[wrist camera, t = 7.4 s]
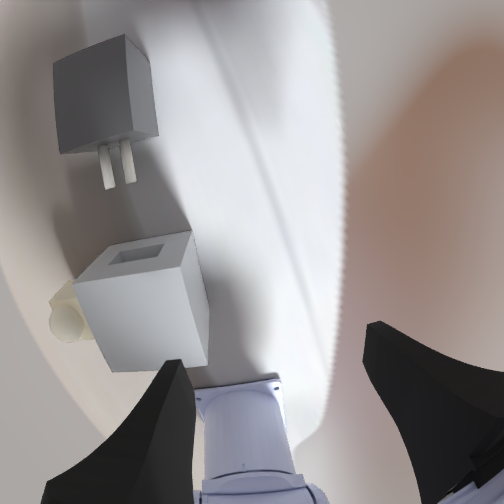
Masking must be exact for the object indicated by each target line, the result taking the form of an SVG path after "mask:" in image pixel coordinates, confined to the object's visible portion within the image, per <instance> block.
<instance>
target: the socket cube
mask: <svg viewBox="0 0 504 504" xmlns="http://www.w3.org/2000/svg"><path fill="white" fill-rule="evenodd" d="M72 286H73V289H74V292H75V294H76V297H77V299H78V302H79V304H80V307H81V309H82V311H83V314H84V316H85V318H86V321H87V323H88V325H89V327H90V329H91V332H92V334H93V336H94V338H95V340H96V342H97V344H98V346H99V348H100V350H101V352H102V354H103V356H104V358H105V360H106V362H107V364H108V366H109V368H110V369H111V371H112V372H136V371H154V370H160V368H161V367H162V365H163V364H164V362H165V361H166V360H174V359H182V362H183V365H184V367H185V368H189V367H199V366H207V365H208V343H209V318H210V308H209V304H208V299H207V295H206V291H205V287H204V282H203V278H202V273H201V269H200V264H199V260H198V255H197V250H196V245H195V241H194V236H193V231H192V230H191V231H185V232H179V233H174V234H168V235H162V236H157V237H152V238H146V239H141V240H136V241H130V242H125V243H120V244H115V245H110V246H109V247H108V248H107V249H106V250H105V251H104V252H103V253H101V254H100V255H99V256H98V257H97V258H96V259H95V260H94V261H93V262H92V263H91V264H90V265H89V266H88V267H87V268H86V269H85V271H84V272H83V273H82V274H81V275H80V276H79V277H78V278H77V279H76V280H75V281H74V282H73V283H72Z"/></svg>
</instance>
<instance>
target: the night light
mask: <svg viewBox="0 0 504 504" xmlns="http://www.w3.org/2000/svg"><path fill="white" fill-rule="evenodd" d="M74 281H75V280H71V281H68V282H67V283H66V284H65V285H64V286H63V287H62V288H61V289H60V290H59V291H58V292H57V293H56V294H55V295H54V296H53V297H52V298H51V299H50V301H49V303H50V306H51V308H52V310H53V311H52V312H51V315H50V318H49V326H50V330H51V332H52V334H53V335H54V336H55V337H56V338H57V339H58V340H60V341H62V342H65V343H71V342H74V341H76V340H93V339H95V338H94V336H93V334H92V332H91V329H90V327H89V325H88V323H87V321H86V318H85V316H84V314H83V311H82V309H81V307H80V304H79V302H78V299H77V297H76V294H75V292H74V289H73V286H72V283H73V282H74Z"/></svg>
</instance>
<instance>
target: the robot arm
mask: <svg viewBox="0 0 504 504" xmlns="http://www.w3.org/2000/svg"><path fill="white" fill-rule="evenodd" d="M362 362H363V364H364V367H365V369H366V372H367V374H368V376H369V378H370V381H371V383H372V384H373V386H374V388H375V390H376V391H377V393H378V395H379V396H380V398H381V400H382V401H383V403H384V405H385V406H386V408H387V409H388V411H389V413H390V415H391V416H392V418H393V419H394V421H395V423H396V425H397V427H398V429H399V432H400V434H401V436H402V439H403V441H404V443H405V446H406V449H407V451H408V454H409V457H410V460H411V462H412V466H413V469H414V473H415V476H416V479H417V484H418V488H419V492H420V497H421V503H422V504H504V372H499V371H493V370H489V369H484V368H481V367H477V366H473V365H470V364H467V363H464V362H461V361H458V360H455V359H453V358H450V357H448V356H446V355H443V354H441V353H439V352H437V351H435V350H432V349H431V348H429V347H427V346H425V345H423V344H421V343H419V342H417V341H416V340H414V339H412V338H410V337H409V336H407V335H405V334H403V333H401V332H400V331H398V330H396V329H395V328H393V327H391V326H389V325H388V324H385V323H384V322H382V321H377V322H374V323H370V324H367V329H366V338H365V347H364V354H363V361H362ZM196 406H197V408H198V411H199V413H200V415H201V417H202V419H203V422H204V424H205V430H204V464H205V480H202V492H201V490H194V491H193V483H192V458H193V445H194V434H195V422H196ZM41 504H329V501H328V499H327V497H326V495H325V493H324V492H323V491H322V490H321V489H320V488H318V487H317V486H316V485H314V484H312V483H307V484H305V481H304V477H303V474H296V473H295V468H294V464H293V460H292V456H291V452H290V448H289V444H288V439H287V435H286V422H285V412H284V402H283V393H282V383H281V380H280V379H270V380H265V381H259V382H253V383H246V384H240V385H232V386H225V387H217V388H208V389H198V390H193V388H192V385H191V383H190V380H189V378H188V375H187V372H186V370H185V367H184V365H183V362H182V359H174V360H166V361H165V362H164V364H163V365H162V367H161V368H160V370H159V372H158V373H157V375H156V376H155V378H154V380H153V381H152V383H151V384H150V386H149V387H148V389H147V390H146V392H145V393H144V395H143V396H142V398H141V399H140V401H139V402H138V403H137V405H136V406H135V407H134V409H133V410H132V411H131V413H130V414H129V415H128V417H127V418H126V419H125V420H124V421H123V423H122V424H121V425H120V426H119V427H118V428H117V429H116V431H115V432H114V433H113V434H112V435H111V436H110V437H109V438H108V439H107V440H106V441H105V442H104V443H102V444H101V445H100V446H99V447H98V448H97V449H96V450H94V451H93V452H92V453H91V454H90V455H89V456H87V457H86V458H85V459H83V460H82V461H81V462H79V463H78V464H76V465H75V466H73V467H72V468H70V469H69V470H67V471H65V472H64V473H62V474H60V475H58V476H56V477H55V478H53V479H51V480H49V481H47V483H46V486H45V490H44V493H43V496H42V500H41Z"/></svg>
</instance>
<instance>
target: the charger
mask: <svg viewBox="0 0 504 504" xmlns="http://www.w3.org/2000/svg"><path fill="white" fill-rule="evenodd" d="M53 77H54V102H55V116H56V127H57V136H58V144H59V151H60V154H69V153H81V152H95V151H98V153H99V159H100V165H101V171H102V176H103V181H104V186H105V189H109V188H113V187H115V182H114V177H113V171H112V166H111V160H110V154H109V149H110V148H113V147H116V146H120V152H121V158H122V164H123V170H124V175H125V181H126V184H129V183H133V182H137V180H136V174H135V169H134V163H133V157H132V151H131V145H130V143H131V142H135V141H139V140H143V139H147V138H151V137H155V136H159V134H158V127H157V120H156V112H155V104H154V96H153V88H152V78H151V68H150V62H149V61H148V60H147V59H146V58H145V57H144V55H143V54H142V53H141V52H140V51H139V50H138V48H137V47H136V46H135V45H134V44H133V43H132V42H131V40H130V39H129V38H128V37H127V36H126V35H125V34H124V35H121V36H118V37H115V38H112V39H109V40H106V41H104V42H101V43H98V44H96V45H93V46H91V47H88V48H86V49H83V50H81V51H79V52H76V53H74V54H72V55H69V56H67V57H65V58H63V59H61V60H59V61H57V62H55V63H53Z"/></svg>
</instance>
